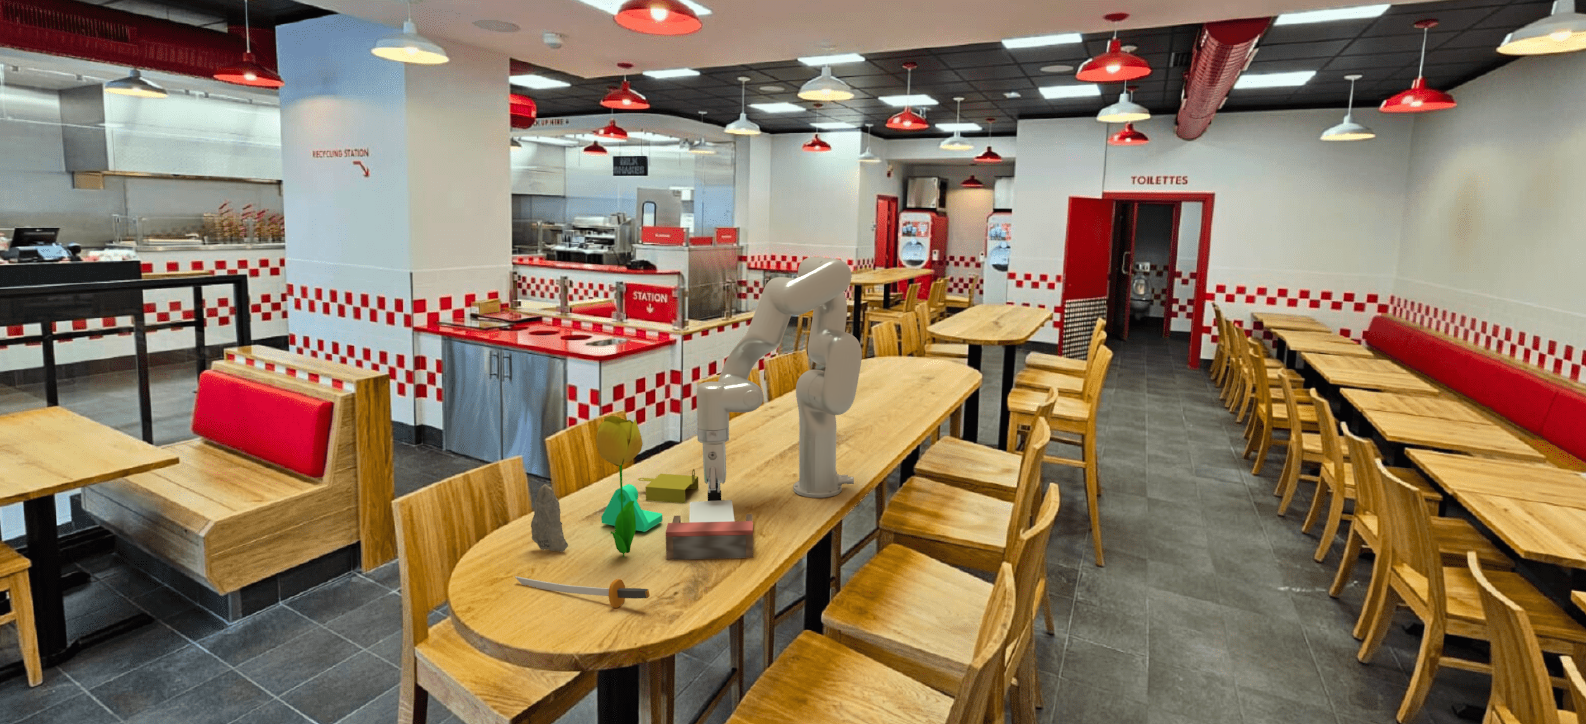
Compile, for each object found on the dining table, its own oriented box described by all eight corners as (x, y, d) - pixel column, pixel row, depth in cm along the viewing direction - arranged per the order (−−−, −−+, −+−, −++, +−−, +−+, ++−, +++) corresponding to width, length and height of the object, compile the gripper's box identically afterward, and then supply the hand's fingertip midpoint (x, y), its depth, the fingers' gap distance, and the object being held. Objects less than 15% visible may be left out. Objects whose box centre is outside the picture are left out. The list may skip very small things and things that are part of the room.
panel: (732, 513, 190) (731, 499, 189) (735, 540, 174) (735, 525, 174) (690, 515, 189) (689, 501, 188) (689, 542, 173) (689, 527, 172)
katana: (508, 588, 152) (506, 564, 151) (523, 579, 156) (521, 555, 155) (643, 618, 140) (642, 592, 139) (655, 607, 144) (655, 581, 143)
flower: (623, 568, 160) (617, 425, 154) (595, 559, 164) (588, 419, 158) (652, 553, 167) (647, 415, 161) (624, 545, 171) (618, 410, 166)
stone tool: (572, 549, 169) (569, 482, 166) (564, 555, 166) (560, 487, 163) (538, 545, 171) (533, 479, 168) (529, 551, 168) (525, 484, 165)
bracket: (648, 456, 210) (702, 459, 207) (649, 484, 211) (703, 488, 208) (625, 474, 195) (683, 478, 192) (626, 504, 196) (683, 509, 193)
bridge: (752, 524, 183) (752, 499, 181) (753, 557, 165) (752, 530, 164) (674, 525, 182) (673, 501, 180) (666, 559, 164) (665, 532, 163)
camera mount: (664, 524, 183) (663, 482, 181) (645, 536, 176) (643, 492, 174) (622, 516, 188) (620, 474, 186) (601, 527, 181) (599, 484, 179)
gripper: (728, 442, 181) (729, 518, 184) (730, 425, 195) (731, 496, 199) (695, 442, 180) (696, 518, 184) (699, 425, 195) (701, 496, 198)
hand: (714, 506), depth 191 cm, fingers closed
